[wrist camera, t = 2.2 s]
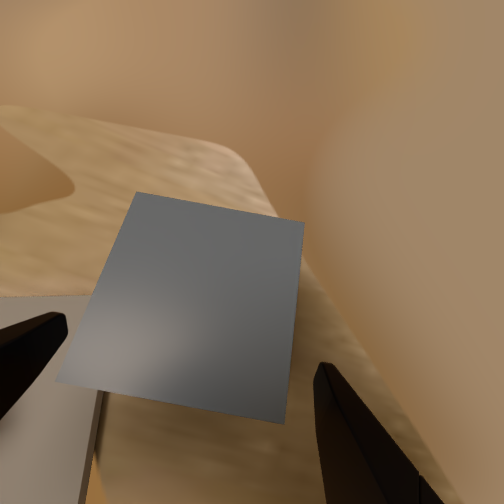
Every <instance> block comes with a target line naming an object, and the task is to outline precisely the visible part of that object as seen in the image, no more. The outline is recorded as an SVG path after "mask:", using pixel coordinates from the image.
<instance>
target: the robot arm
mask: <svg viewBox="0 0 504 504" xmlns="http://www.w3.org/2000/svg"><path fill="white" fill-rule="evenodd" d="M67 336H68V325H67V319H66V315H65V314H64V313H60V312H54V311H51V312H48V313H45V314H42V315H39V316H36V317H33V318H30V319H28V320H25V321H22V322H19V323H16V324H13V325H11V326H8V327H5V328H2V329H0V420H1V419H2V418H3V417H4V416H5V415H6V413H7V412H8V411H9V410H10V409H11V408H12V407H13V405H14V404H15V403H16V402H17V401H18V400H19V399H20V397H21V396H22V395H23V394H24V393H25V392H26V391H27V389H28V388H29V387H30V386H31V385H32V384H33V382H34V381H35V380H36V379H37V377H38V376H39V375H40V373H41V372H42V371H43V369H44V368H45V367H46V365H47V364H48V363H49V361H50V360H51V359H52V357H53V356H54V354H55V353H56V352H57V350H58V349H59V348H60V346H61V345H62V344H63V342H64V341H65V339H66V338H67ZM313 391H314V409H315V427H316V437H317V444H318V451H319V457H320V464H321V470H322V477H323V483H324V490H325V496H326V503H327V504H444V503H443V501H442V500H441V499H440V498H439V497H438V495H437V494H436V493H435V492H434V490H433V489H432V488H431V487H430V485H429V484H428V483H427V482H426V480H425V479H424V478H423V477H422V476H421V475H420V476H419V472H418V470H417V469H416V468H415V467H414V465H413V464H412V463H411V462H410V460H409V459H408V458H407V456H406V455H405V454H404V453H403V451H402V450H401V449H400V448H399V446H398V445H397V444H396V443H395V441H394V440H393V439H392V438H391V436H390V435H389V434H388V433H387V431H386V430H385V429H384V427H383V426H382V425H381V424H380V422H379V421H378V420H377V419H376V417H375V416H374V415H373V414H372V412H371V411H370V410H369V409H368V407H367V406H366V405H365V404H364V402H363V401H362V400H361V399H360V397H359V396H358V395H357V393H356V392H355V391H354V390H353V388H352V387H351V386H350V385H349V383H348V382H347V381H346V380H345V378H344V377H343V376H342V375H341V373H340V372H339V371H338V370H337V368H336V367H335V366H334V365H333V364H332V363H327V362H320V364H319V366H318V369H317V371H316V374H315V376H314V380H313Z"/></svg>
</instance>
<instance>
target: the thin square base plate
mask: <svg viewBox="0 0 504 504" xmlns="http://www.w3.org/2000/svg"><path fill="white" fill-rule="evenodd" d="M91 296H92V295H76V296H33V297H0V329H2V328H5V327H8V326H11V325H13V324H16V323H19V322H22V321H25V320H28V319H30V318H33V317H36V316H39V315H42V314H45V313H48V312H51V311H54V312H60V313H64V314H65V315H66V319H67V325H68V336H67V338H66V339H65V341H64V342H63V344H62V345H61V346H60V348H59V349H58V350H57V352H56V353H55V354H54V356H53V357H52V359H51V360H50V361H49V363H48V364H47V365H46V367H45V368H44V369H43V371H42V372H41V373H40V375H39V376H38V377H37V379H36V380H35V381H34V382H33V384H32V385H31V386H30V387H29V388H28V389H27V391H26V392H25V393H24V394H23V395H22V396H21V397H20V399H19V400H18V401H17V402H16V403H15V404H14V405H13V407H12V408H11V409H10V410H9V411H8V412H7V413H6V415H5V416H4V417H3V418H2V419H1V420H0V504H85V500H86V495H87V488H88V483H89V477H90V470H91V465H92V458H93V453H94V447H95V441H96V434H97V428H98V422H99V416H100V410H101V404H102V398H103V392H104V391H102V390H96V389H91V388H86V387H80V386H75V385H69V384H64V383H59V382H55V380H56V377H57V375H58V373H59V370H60V368H61V366H62V363H63V361H64V359H65V356H66V354H67V352H68V349H69V347H70V345H71V342H72V340H73V338H74V336H75V333H76V331H77V329H78V326H79V324H80V322H81V319H82V317H83V315H84V312H85V310H86V308H87V305H88V303H89V301H90V298H91Z"/></svg>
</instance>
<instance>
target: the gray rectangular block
mask: <svg viewBox="0 0 504 504" xmlns="http://www.w3.org/2000/svg"><path fill="white" fill-rule="evenodd" d="M304 224H305V223H304V222H298V221H293V220H287V219H282V218H277V217H271V216H266V215H260V214H255V213H250V212H244V211H239V210H233V209H228V208H223V207H217V206H212V205H206V204H201V203H195V202H190V201H185V200H179V199H174V198H168V197H163V196H158V195H152V194H147V193H141V192H136V194H135V196H134V198H133V201H132V203H131V205H130V208H129V210H128V212H127V215H126V217H125V219H124V222H123V224H122V226H121V229H120V231H119V233H118V236H117V238H116V240H115V243H114V245H113V247H112V250H111V252H110V254H109V257H108V259H107V261H106V263H105V266H104V268H103V270H102V273H101V275H100V277H99V280H98V282H97V284H96V287H95V289H94V291H93V294H92V296H91V298H90V301H89V303H88V305H87V308H86V310H85V312H84V315H83V317H82V319H81V322H80V324H79V326H78V329H77V331H76V333H75V336H74V338H73V340H72V342H71V345H70V347H69V349H68V352H67V354H66V356H65V359H64V361H63V363H62V366H61V368H60V370H59V373H58V375H57V377H56V380H55V382H59V383H64V384H69V385H75V386H80V387H86V388H91V389H96V390H102V391H107V392H112V393H118V394H123V395H128V396H134V397H139V398H144V399H150V400H155V401H161V402H166V403H171V404H177V405H182V406H187V407H193V408H198V409H203V410H209V411H214V412H219V413H225V414H230V415H236V416H241V417H246V418H252V419H257V420H262V421H268V422H273V423H278V424H284V423H285V413H286V403H287V393H288V383H289V373H290V363H291V353H292V343H293V333H294V323H295V314H296V304H297V294H298V284H299V274H300V264H301V254H302V244H303V234H304Z"/></svg>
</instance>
